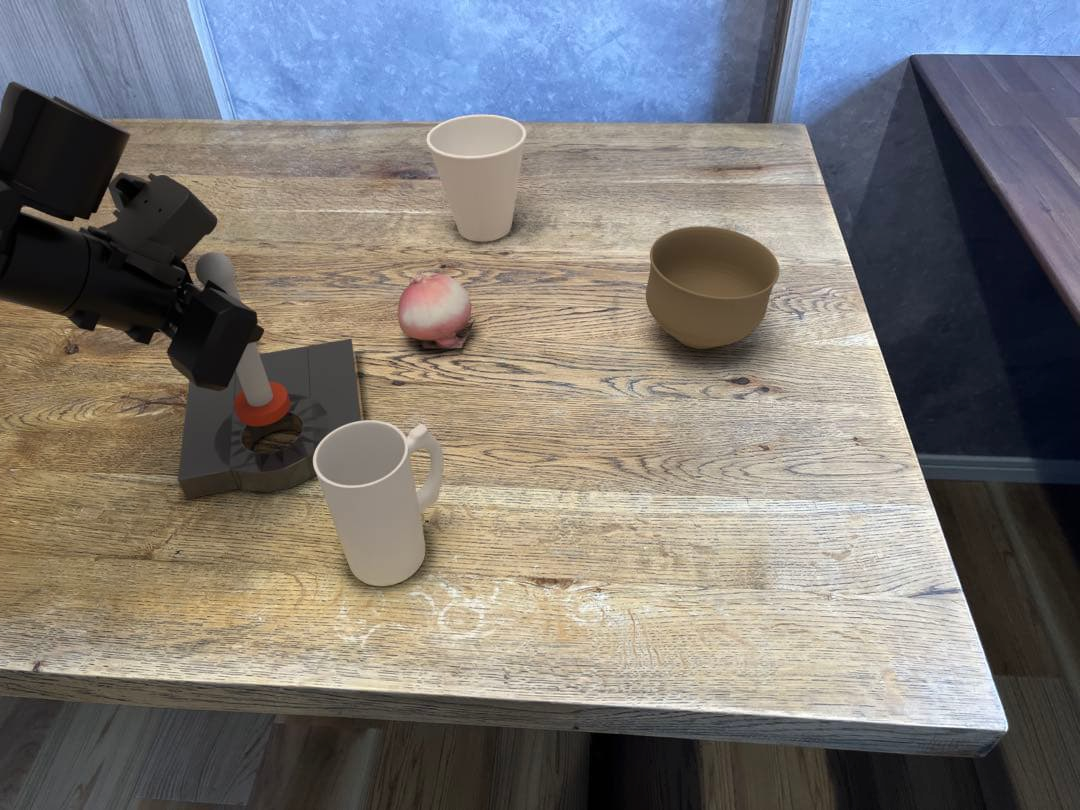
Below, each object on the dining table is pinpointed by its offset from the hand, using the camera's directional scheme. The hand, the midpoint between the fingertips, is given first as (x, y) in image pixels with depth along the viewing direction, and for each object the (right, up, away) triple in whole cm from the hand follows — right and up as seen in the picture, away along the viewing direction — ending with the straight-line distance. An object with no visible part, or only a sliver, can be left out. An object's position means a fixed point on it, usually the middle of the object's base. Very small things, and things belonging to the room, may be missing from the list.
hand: (252, 328), depth 68 cm
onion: (+13, +1, +20) cm, 24 cm away
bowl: (+41, +1, +19) cm, 45 cm away
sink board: (-1, -8, +11) cm, 14 cm away
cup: (+17, +16, +37) cm, 44 cm away
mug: (+13, -18, 0) cm, 22 cm away
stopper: (-1, -7, +5) cm, 8 cm away
